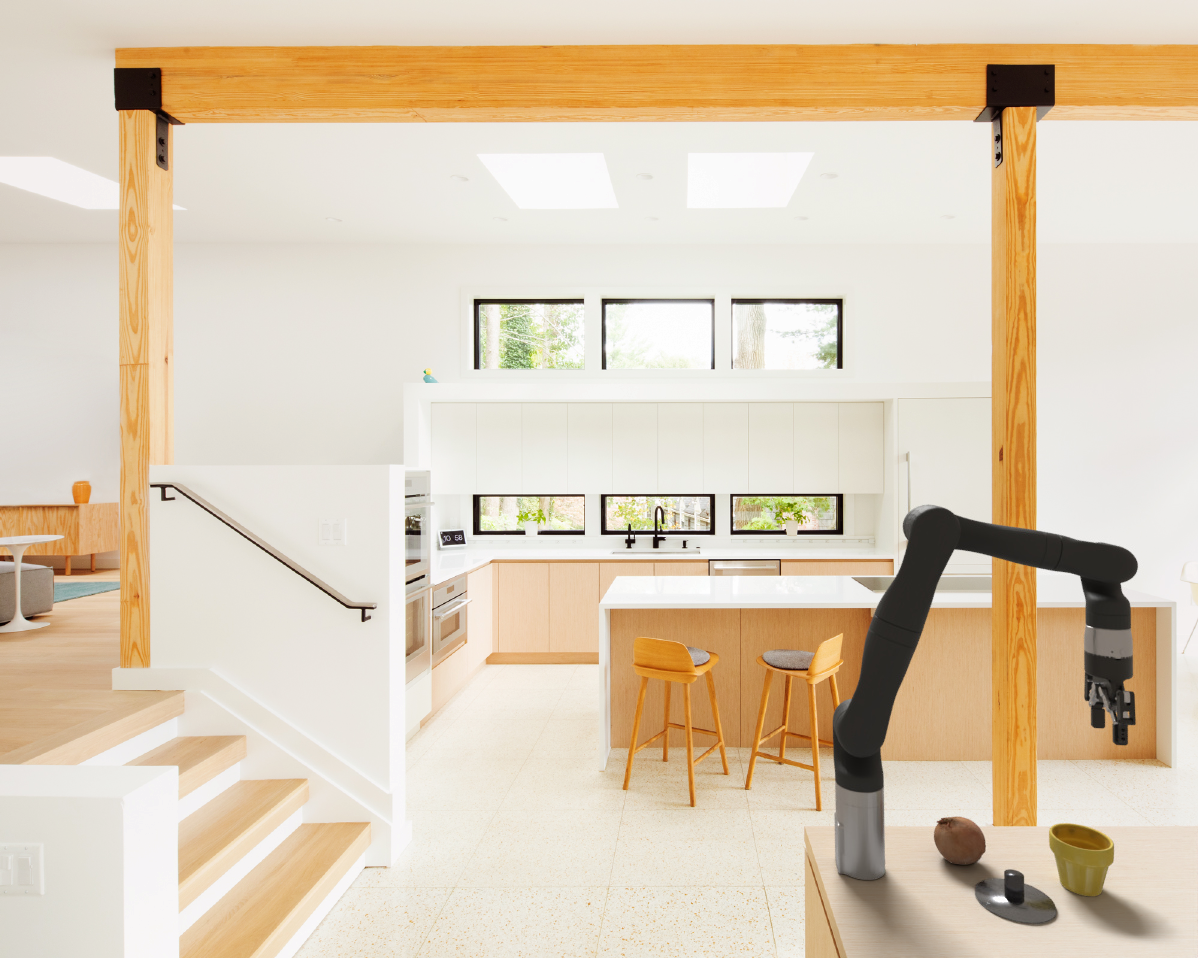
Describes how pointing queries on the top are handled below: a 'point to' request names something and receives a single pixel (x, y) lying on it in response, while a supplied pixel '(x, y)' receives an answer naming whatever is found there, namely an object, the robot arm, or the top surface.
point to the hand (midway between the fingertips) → (1108, 735)
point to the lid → (1015, 899)
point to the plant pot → (1081, 857)
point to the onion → (959, 840)
